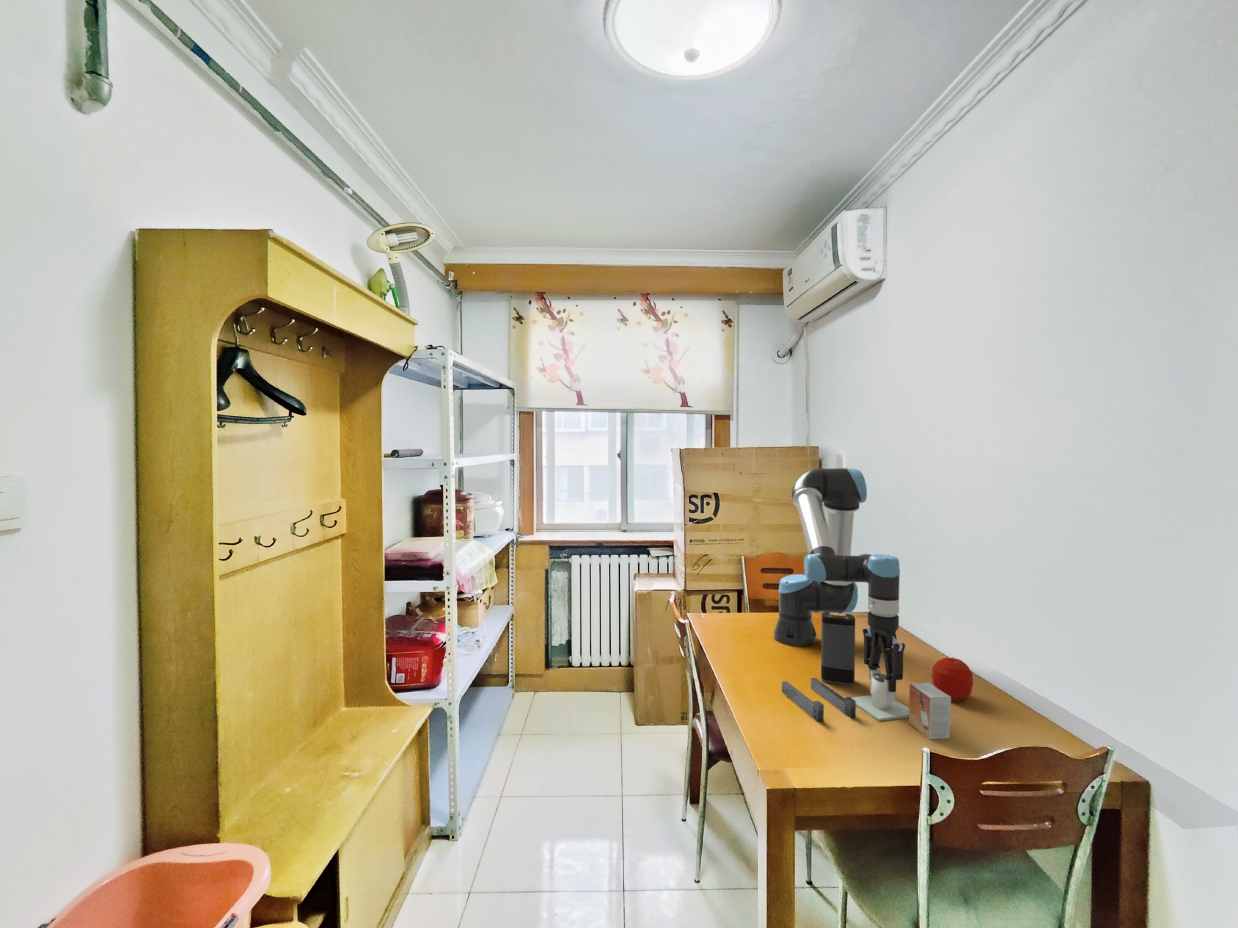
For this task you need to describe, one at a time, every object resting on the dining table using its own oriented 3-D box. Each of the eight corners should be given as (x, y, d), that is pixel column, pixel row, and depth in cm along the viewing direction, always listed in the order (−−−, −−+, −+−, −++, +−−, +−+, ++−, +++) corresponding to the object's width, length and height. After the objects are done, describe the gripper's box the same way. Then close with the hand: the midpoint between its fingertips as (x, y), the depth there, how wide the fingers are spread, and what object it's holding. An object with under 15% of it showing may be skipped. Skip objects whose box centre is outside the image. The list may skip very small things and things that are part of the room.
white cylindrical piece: (867, 702, 148) (868, 673, 148) (883, 700, 149) (883, 672, 149) (879, 710, 143) (879, 680, 143) (895, 708, 144) (895, 679, 144)
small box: (908, 723, 138) (908, 682, 138) (929, 722, 138) (929, 681, 138) (928, 740, 130) (929, 697, 130) (950, 738, 130) (951, 696, 130)
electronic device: (853, 678, 165) (854, 613, 164) (854, 686, 159) (855, 619, 159) (820, 674, 168) (821, 610, 167) (821, 682, 162) (822, 616, 162)
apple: (952, 687, 159) (953, 648, 158) (982, 703, 149) (983, 662, 148) (923, 690, 156) (923, 651, 156) (951, 706, 147) (952, 665, 146)
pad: (848, 699, 151) (848, 697, 151) (885, 695, 153) (885, 693, 153) (878, 720, 139) (878, 718, 139) (917, 715, 142) (917, 713, 142)
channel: (781, 691, 156) (781, 676, 156) (815, 687, 158) (815, 672, 158) (818, 722, 138) (818, 705, 138) (855, 717, 141) (855, 700, 141)
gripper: (849, 604, 153) (849, 685, 154) (895, 624, 136) (894, 714, 136) (872, 602, 155) (871, 682, 155) (920, 621, 138) (919, 711, 138)
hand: (882, 697), depth 146 cm, fingers closed on white cylindrical piece, 5 cm apart
